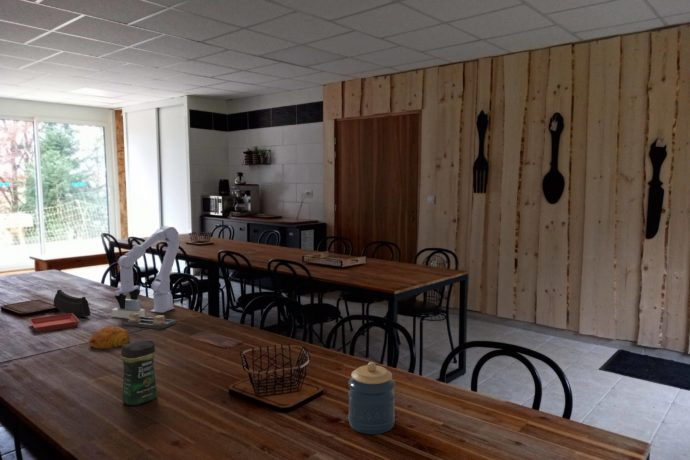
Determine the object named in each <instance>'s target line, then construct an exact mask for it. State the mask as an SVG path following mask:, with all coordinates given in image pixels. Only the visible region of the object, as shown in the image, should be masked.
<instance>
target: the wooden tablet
mask: <svg viewBox="0 0 690 460" xmlns="http://www.w3.org/2000/svg"><path fill="white" fill-rule="evenodd" d="M189 337H190V339H192V338H193V340H196V341H198V340H199V342H202V343H206V344H209V345H213V346H215V347H217V348H222V349H231V348H232V347H235V346H239V345H242V344H243V343H244V341H243V340H240V339H238V338H237V339H236V338H232V337H229V336H226V335H225V336H224V335H220V334H216V333H212V332H207V331H200V332H198V333H195V334H192V335H191V336H189Z"/></svg>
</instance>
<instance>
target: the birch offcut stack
mask: <svg viewBox="0 0 690 460" xmlns="http://www.w3.org/2000/svg"><path fill="white" fill-rule="evenodd" d="M127 320H128V322H137V323H140V313H132V314H129V319H128V318H127Z"/></svg>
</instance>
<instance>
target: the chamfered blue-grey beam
mask: <svg viewBox="0 0 690 460" xmlns="http://www.w3.org/2000/svg"><path fill="white" fill-rule="evenodd" d="M116 302H117V303H116V304H117V307H116V308H118V310H127V311H140V309H141V300H140V299H137V300H134V299H131V298H126V299H125V309H120V306H119V303H118V301H116Z"/></svg>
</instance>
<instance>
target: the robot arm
mask: <svg viewBox="0 0 690 460" xmlns="http://www.w3.org/2000/svg"><path fill="white" fill-rule="evenodd" d="M179 235H180V233H179V232H178V230H177V228H175V227H174V226H168V225H162V226H160V227H159V228H158V229H156V230H155V231H154V233H152V234H151V235H150V236H149V237H148V238H147V239H146V240H144V242H142V243H141V244H136V245H133V246H132V248H131V249H130V250H129V251H127V252H126V253H124V255H121V256H120V257H119V258H118V261H117V264H118V266H119V274H120V275H119V276H120V288H119V289H117V290H116V291H114V298H115V299H116V300H117V301H118V303H119V306H120V309H125V299H127V295H125V294H127V293H128V294H129V298H130V299H134V300H138V297H139V296H140V293H141V290H140V285H134V270H133V267H134V265H135V262H137V261H138V260H139V259H141V258H142V257H143V256H144V255H145V254H146V250H147V249H149V248H150V247H151V246H153V245H154V244H156V242H159V241H162V240H164V241H165V242H166V244H167V248H166V251H165V254H164V257H163V260H162V264H161V265H160V270H159V272H158V274H157V275H156V276H155V278H154V280H153V281H152V282H151V285H150V287H151V288H150V289H151V290H152V291H153V296H152V297H153V309H151V310H150V312H154V313H163V314H164V313H166V312H167V311H168V312H169V311H170V310H174V309H175V307H174V303H173V302H174V301H173V300H174V299H173V294H172V293H171V292H170V289H171V286H170V284H171V283H170V282H171V278H170V275H171V272H172V269H173V266H174V263H175V261H176V260H175V259H176V256H177V255H178V251H179V248H180V243H181V242H180V238H179ZM117 301H116V302H117Z"/></svg>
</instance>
